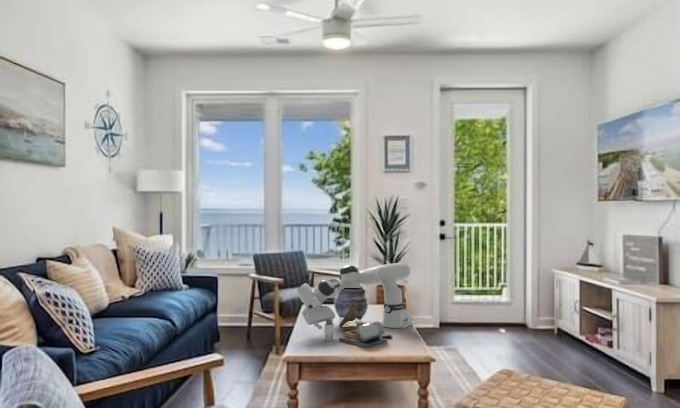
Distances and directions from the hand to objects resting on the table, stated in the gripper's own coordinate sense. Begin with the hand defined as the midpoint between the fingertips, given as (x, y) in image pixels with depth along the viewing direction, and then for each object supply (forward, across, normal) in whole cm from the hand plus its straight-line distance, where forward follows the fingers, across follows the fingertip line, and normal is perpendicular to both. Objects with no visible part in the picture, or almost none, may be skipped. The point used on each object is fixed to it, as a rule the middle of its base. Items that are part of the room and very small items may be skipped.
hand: (326, 327), depth 332 cm
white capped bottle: (+6, 0, -4) cm, 7 cm away
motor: (+18, -10, +8) cm, 22 cm away
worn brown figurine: (-4, -32, -15) cm, 36 cm away
